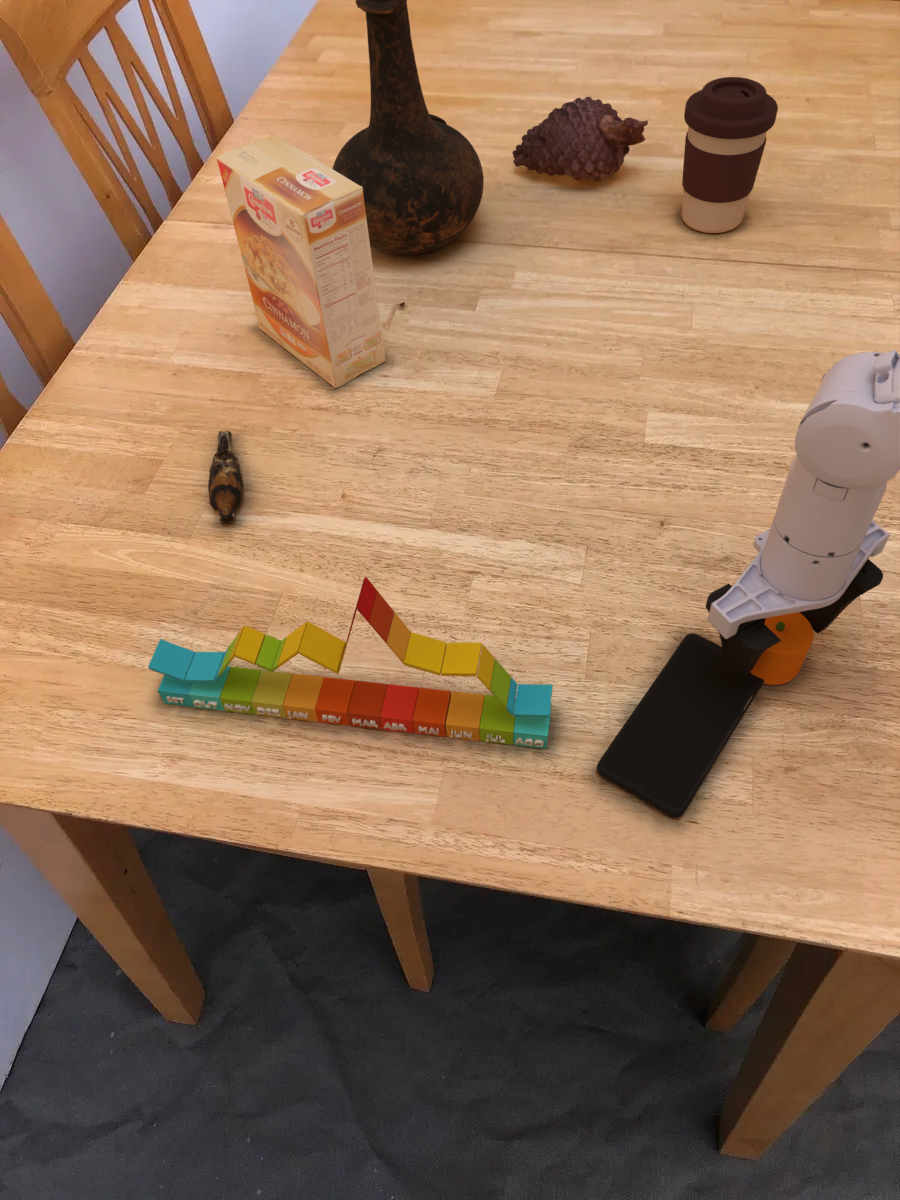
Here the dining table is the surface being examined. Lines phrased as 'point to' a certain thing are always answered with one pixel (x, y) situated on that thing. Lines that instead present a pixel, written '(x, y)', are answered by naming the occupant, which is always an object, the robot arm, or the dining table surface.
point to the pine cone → (579, 141)
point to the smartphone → (679, 727)
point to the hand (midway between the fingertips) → (773, 644)
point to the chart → (359, 683)
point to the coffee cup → (723, 151)
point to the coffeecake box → (305, 256)
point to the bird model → (225, 480)
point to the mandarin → (785, 649)
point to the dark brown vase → (407, 149)
